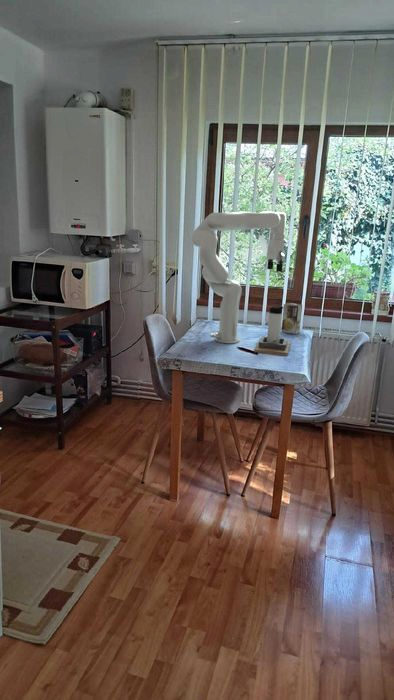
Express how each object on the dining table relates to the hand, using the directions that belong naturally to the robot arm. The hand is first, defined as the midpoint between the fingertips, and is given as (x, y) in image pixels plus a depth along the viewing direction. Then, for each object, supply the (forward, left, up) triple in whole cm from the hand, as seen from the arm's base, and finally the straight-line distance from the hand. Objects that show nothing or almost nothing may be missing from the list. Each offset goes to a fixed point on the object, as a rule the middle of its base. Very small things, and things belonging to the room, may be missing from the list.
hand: (274, 270), depth 258 cm
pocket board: (-11, -21, -36) cm, 43 cm away
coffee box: (+18, +6, -36) cm, 41 cm away
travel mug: (-11, -22, -35) cm, 42 cm away
